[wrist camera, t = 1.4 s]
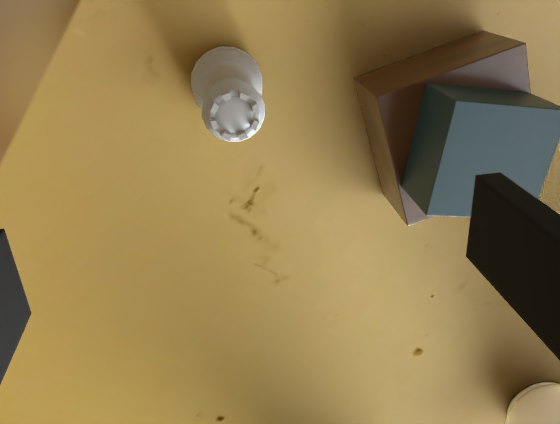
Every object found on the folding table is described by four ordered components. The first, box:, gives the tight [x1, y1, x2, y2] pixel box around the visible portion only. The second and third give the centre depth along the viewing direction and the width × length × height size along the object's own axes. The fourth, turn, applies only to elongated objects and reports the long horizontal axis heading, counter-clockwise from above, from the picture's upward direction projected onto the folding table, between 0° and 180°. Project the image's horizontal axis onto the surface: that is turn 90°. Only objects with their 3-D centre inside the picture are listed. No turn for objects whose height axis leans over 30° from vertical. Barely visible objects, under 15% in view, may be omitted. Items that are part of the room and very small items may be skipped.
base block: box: [354, 31, 530, 226], centre depth 35 cm, size 9×9×5 cm
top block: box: [402, 83, 560, 217], centre depth 31 cm, size 6×6×4 cm
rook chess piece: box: [191, 46, 265, 142], centre depth 30 cm, size 4×4×8 cm
